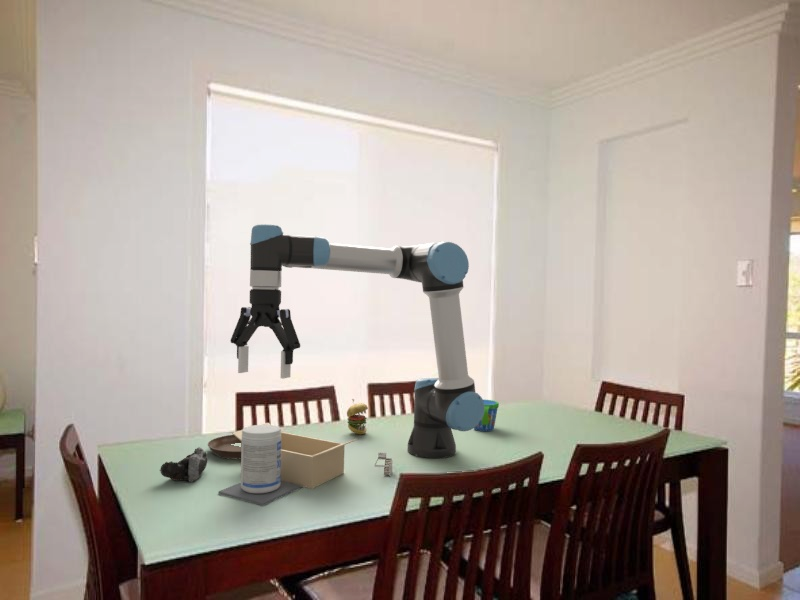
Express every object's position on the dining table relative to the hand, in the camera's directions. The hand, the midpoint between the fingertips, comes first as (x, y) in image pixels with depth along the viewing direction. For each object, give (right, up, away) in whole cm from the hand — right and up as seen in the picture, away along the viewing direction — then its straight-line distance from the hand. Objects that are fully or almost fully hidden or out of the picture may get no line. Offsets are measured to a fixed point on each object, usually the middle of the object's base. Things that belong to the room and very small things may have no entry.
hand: (263, 375), depth 138 cm
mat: (-1, -29, +1) cm, 29 cm away
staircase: (+29, -30, +15) cm, 44 cm away
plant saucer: (-14, -28, +33) cm, 45 cm away
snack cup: (+64, -29, +68) cm, 98 cm away
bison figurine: (-23, -28, +9) cm, 37 cm away
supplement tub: (-1, -28, +1) cm, 28 cm away
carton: (+4, -28, +15) cm, 32 cm away
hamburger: (+18, -28, +57) cm, 66 cm away
